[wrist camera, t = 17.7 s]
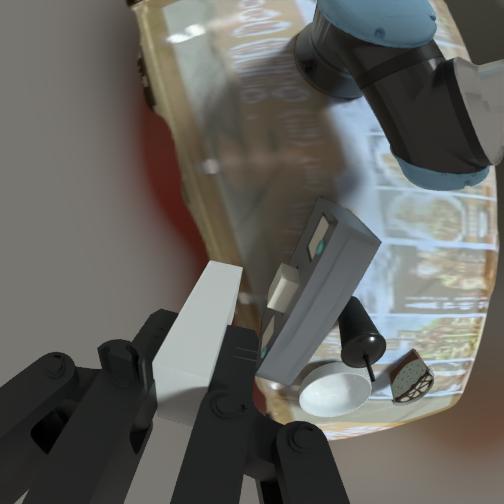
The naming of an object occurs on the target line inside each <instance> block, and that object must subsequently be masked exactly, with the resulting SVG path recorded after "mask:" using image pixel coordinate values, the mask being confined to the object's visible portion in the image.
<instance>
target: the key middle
mask: <svg viewBox="0 0 504 504" xmlns="http://www.w3.org/2000/svg"><path fill="white" fill-rule="evenodd" d="M299 285H300V278H299V270H298V269H296V268H293V267H291V266H288V265H286V264H283V263H281V265H280V267H279V269H278V271H277V273H276V275H275V278H274V280H273V282H272V284H271V286H270V288H269V292H268V303H267V307H269V308H271V309H274V310H277V311H280V312H282V313H285V311H286V309H287V307H288V305H289V304H290V302H291V300H292V298H293V296H294V294H295V292H296V290H297V288H298V286H299Z"/></svg>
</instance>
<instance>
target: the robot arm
mask: <svg viewBox="0 0 504 504" xmlns="http://www.w3.org/2000/svg"><path fill="white" fill-rule="evenodd" d="M435 20H436V16H435V13H434V10H433V8H432V7H431V5H430V3H429V2H428V0H317V5H316V9H315V14H314V18H313V22H312V23H310V24H308V25H307V26H306V27H305V28H304V29H303V30H302V31H301V33H300V34H299V36H298V38H297V41H296V45H295V61H296V64H297V67H298V69H299V71H300V73H301V74H302V76H303V77H304V78H305V79H306V81H307V82H308V83H309V84H311V85H312V86H313V87H314V88H316V89H317V90H319V91H321V92H323V93H325V94H327V95H329V96H333V97H337V98H344V99H350V98H357V97H361V96H363V95H364V97H365V98H366V100H367V102H368V104H369V105H370V107H371V109H372V111H373V113H374V114H375V116H376V118H377V120H378V122H379V124H380V126H381V128H382V130H383V132H384V134H385V136H386V138H387V140H388V142H389V144H390V150H391V153H392V154H393V155H394V157H395V158H396V159H397V161H398V163H399V165H400V167H401V170H402V172H403V174H404V175H405V177H406V178H407V179H408V180H409V181H410V182H411V183H413V184H415V185H416V186H419V187H421V188H424V189H428V190H436V191H452V190H459V189H463V188H464V186H465V185H467V186H474V185H476V184H478V183H480V182H481V181H483V180H484V179H485V178H486V177H487V175H488V173H489V168H490V165H497V164H499V163H500V161H501V159H502V157H503V155H504V60H499V61H496V62H492V63H488V64H484V65H481V66H478V65H474V64H472V63H471V62H469V61H467V60H465V59H463V58H461V57H455V58H452V59H449V60H447V61H446V59H445V58H444V56H443V54H442V53H441V51H440V49H439V48H438V46H437V44H436V42H435V41H434V39H433V37H434V34H435V32H436V28H437V25H436V23H435ZM242 269H243V267H238V266H234V265H229V264H225V263H220V262H215V261H211V260H210V262H209V263H208V265H207V267H206V268H205V270H204V272H203V273H202V275H201V277H200V279H199V280H198V282H197V284H196V285H195V287H194V289H193V291H192V293H191V294H190V296H189V298H188V299H187V301H186V303H185V305H184V307H183V308H182V310H181V312H180V313H175V312H171V311H168V310H164V309H160V310H158V311H156V312H155V313H153V314H151V315H150V317H149V318H148V319H147V321H146V322H145V324H144V325H143V326H142V328H141V329H140V331H139V333H138V334H137V335H136V337H135V338H134V340H133V341H132V342H130V341H126V340H121V339H117V340H110V341H107V342H105V343H103V344H102V345H100V346H99V347H98V348H97V349H98V353H99V358H100V362H101V366H102V369H90V368H82V367H76V366H75V364H74V361H73V360H72V359H71V357H69V356H68V355H66V354H64V353H60V352H52V353H48V354H46V355H44V356H42V357H41V358H39V359H38V360H36V361H35V362H34V363H32V364H31V365H30V366H28V367H27V368H26V369H24V370H23V371H22V372H20V373H19V374H17V375H16V376H15V377H13V378H12V379H11V380H9V381H8V382H7V383H6V384H4V385H3V386H2V387H0V504H14V503H15V502H16V501H17V500H18V499H19V498H20V497H21V496H22V495H23V494H24V493H25V492H26V491H27V490H28V489H29V488H30V489H29V491H28V493H27V495H26V497H25V498H24V500H23V503H22V504H123V503H124V501H125V498H126V495H127V493H128V490H129V488H130V485H131V482H132V480H133V477H134V475H135V472H136V470H137V467H138V464H139V462H140V459H141V457H142V454H143V452H144V449H145V447H146V444H147V442H148V439H149V437H150V434H151V432H152V428H153V421H152V419H153V417H154V414H155V412H156V410H157V414H158V416H159V417H162V418H165V419H168V420H172V421H175V422H178V423H182V424H185V425H189V426H193V429H192V433H191V436H190V439H189V443H188V446H187V449H186V453H185V456H184V459H183V463H182V466H181V469H180V472H179V476H178V479H177V482H176V485H175V489H174V492H173V496H172V499H171V502H170V504H239V500H240V494H241V488H242V481H243V474H245V475H247V476H250V477H252V478H254V479H255V480H256V486H257V491H258V497H259V502H260V504H350V502H349V499H348V496H347V494H346V491H345V488H344V486H343V483H342V480H341V477H340V474H339V472H338V469H337V466H336V463H335V461H334V458H333V455H332V452H331V449H330V447H329V444H328V441H327V438H326V436H325V435H324V433H323V432H322V430H321V429H319V428H318V427H317V426H315V425H314V424H311V423H308V422H305V421H294V422H290V423H287V424H286V425H283V424H281V423H278V422H276V421H274V420H271V419H269V418H267V417H266V416H264V415H263V414H262V413H260V412H259V411H258V409H257V408H256V407H255V405H254V402H253V399H252V392H253V385H254V378H255V370H256V361H257V354H258V346H259V339H258V337H257V335H256V332H255V330H251V329H246V328H241V327H236V326H232V325H231V324H232V320H233V316H234V311H235V306H236V300H237V295H238V290H239V285H240V280H241V275H242Z"/></svg>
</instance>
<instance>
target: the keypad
mask: <svg viewBox="0 0 504 504" xmlns="http://www.w3.org/2000/svg"><path fill="white" fill-rule="evenodd" d="M322 216H325V217H327V218H328V220H329V221H330V224H329V226H328V228H327V230H326V233H325V235H324V237H323V239H322V240H320V241H319V243H318V245H317V247H316V252H315V255H314V257H313V259H312V258H311V254H310V250H309V244H310V242H311V240H312V238H313V235H314V233H315V231H316V229H317V227H318V225H319V223H320V220H321V218H322ZM380 244H381V241H380V240H379V239H378V237H377V236H376V235H375V234H374V233H373V232H372V231H371V230H370V229H369V228H368V227H367V226H366V225H365V224H364V223H363V222H362V221H361V220H360V219H359V218H358V217H357V216H356V215H354V214H353V213H352V212H351V211H350V210H348V209H346V208H344V207H342V206H340V205H337V204H335V203H333V202H331V201H329V200H326V199H324V198H322V197H320V196H319V198H318V200H317V203H316V205H315V207H314V209H313V211H312V214H311V216H310V218H309V220H308V223H307V225H306V227H305V229H304V231H303V233H302V236H301V238H300V240H299V242H298V244H297V246H296V248H295V251H294V253H293V255H292V257H291V259H290V261H289V263H288V266H291V267H293V268H296V269H298V270H299V278H300V285H299V286H298V288H297V290H296V292H295V294H294V296H293V298H292V300H291V302H290V304H289V305H288V307H287V309H286V311H285V313H282V312H280V311H277V310H274V309H271V308H269V307H267V308H266V310H265V312H264V314H263V316H262V321H261V330H260V338H259V346H258V354H257V362H256V370H255V376H258V377H261V378H264V379H267V380H271V381H274V382H278V383H282V384H285V385H289V386H290V385H291V384H292V383H293V381H294V380H295V379H296V377H297V376H298V375H299V373H300V372H301V371H302V369H303V368H304V367H305V365H306V364H307V362H308V361H309V360H310V358H311V357H312V355H313V354H314V353H315V351H316V350H317V348H318V347H319V345H320V344H321V343H322V341H323V340H324V338H325V337H326V335H327V334H328V332H329V331H330V329H331V328H332V326H333V325H334V323H335V322H336V320H337V318H338V317H339V315H340V314H341V312H342V311H343V309H344V307H345V306H346V304H347V302H348V301H349V299H350V298H351V296H352V294H353V293H354V291H355V289H356V288H357V286H358V284H359V282H360V281H361V279H362V277H363V275H364V274H365V272H366V270H367V268H368V267H369V265H370V263H371V261H372V259H373V258H374V256H375V254H376V252H377V250H378V248H379V246H380ZM274 315H275V316H274ZM273 316H274V333H273V335H272V336H271V338H270V340H269V342H268V343H267V345H266V346H264V347H263V349H262V352H261V347H262V338H263V334H264V332H265V331H266V329H267V327H268V325H269V323H270V321H271V319H272V317H273Z"/></svg>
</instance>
